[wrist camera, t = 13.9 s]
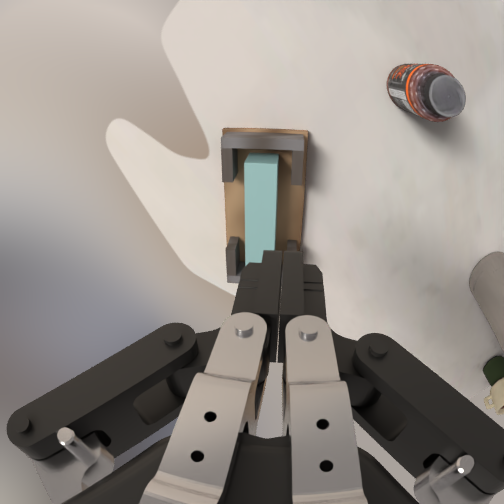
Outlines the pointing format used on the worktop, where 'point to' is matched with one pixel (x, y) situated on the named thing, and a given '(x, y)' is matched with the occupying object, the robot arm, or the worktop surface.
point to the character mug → (495, 384)
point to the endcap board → (289, 188)
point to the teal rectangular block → (260, 204)
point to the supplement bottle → (426, 91)
